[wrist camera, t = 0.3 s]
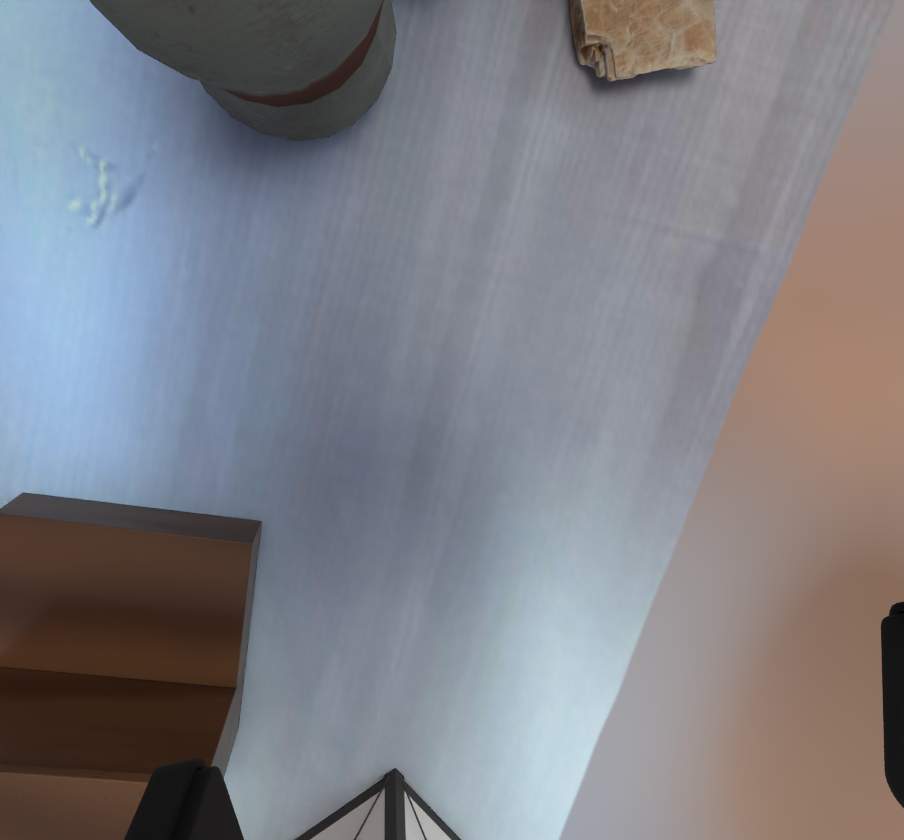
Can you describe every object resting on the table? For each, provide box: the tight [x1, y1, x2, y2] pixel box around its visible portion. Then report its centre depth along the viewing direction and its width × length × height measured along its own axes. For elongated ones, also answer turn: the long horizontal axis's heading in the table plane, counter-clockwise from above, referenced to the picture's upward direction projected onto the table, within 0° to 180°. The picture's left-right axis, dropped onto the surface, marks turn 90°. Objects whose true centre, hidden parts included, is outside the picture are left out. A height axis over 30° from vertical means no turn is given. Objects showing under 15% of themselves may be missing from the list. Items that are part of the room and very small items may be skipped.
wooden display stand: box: [0, 493, 262, 840], centre depth 37 cm, size 14×13×11 cm
